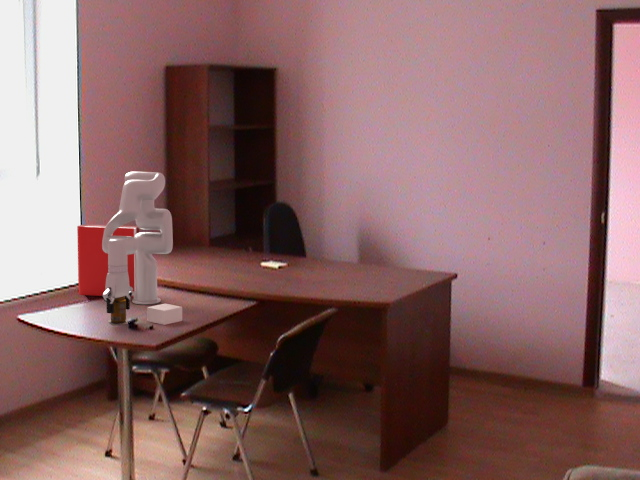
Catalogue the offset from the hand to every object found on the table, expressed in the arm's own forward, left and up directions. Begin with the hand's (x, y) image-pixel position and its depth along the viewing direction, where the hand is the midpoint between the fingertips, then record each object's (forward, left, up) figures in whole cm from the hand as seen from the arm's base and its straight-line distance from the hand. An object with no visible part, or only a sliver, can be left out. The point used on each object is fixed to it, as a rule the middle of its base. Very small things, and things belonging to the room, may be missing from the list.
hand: (118, 311), depth 370 cm
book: (-42, +43, -5) cm, 61 cm away
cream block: (+14, +12, -5) cm, 19 cm away
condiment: (0, 0, -5) cm, 5 cm away
